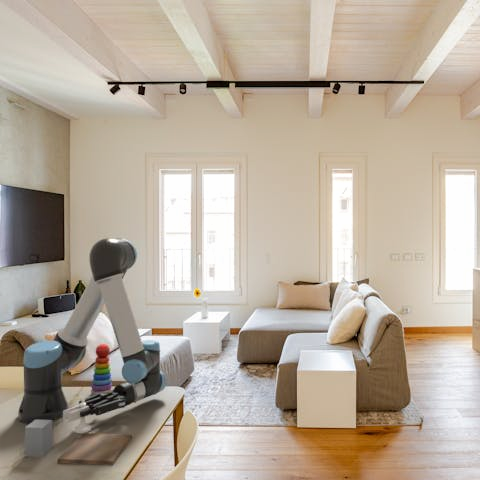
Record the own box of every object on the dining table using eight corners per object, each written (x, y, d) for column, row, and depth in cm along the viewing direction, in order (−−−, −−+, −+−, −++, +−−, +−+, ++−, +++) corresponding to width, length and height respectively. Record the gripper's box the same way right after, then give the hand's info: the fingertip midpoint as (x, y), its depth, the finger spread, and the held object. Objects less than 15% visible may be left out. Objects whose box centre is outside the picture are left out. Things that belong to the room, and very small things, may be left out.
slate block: (25, 456, 114) (24, 427, 114) (35, 447, 119) (35, 419, 119) (42, 457, 114) (42, 427, 114) (52, 448, 119) (52, 420, 119)
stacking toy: (106, 397, 157) (105, 347, 157) (86, 396, 159) (86, 346, 159) (116, 390, 165) (116, 342, 165) (97, 389, 166) (97, 341, 166)
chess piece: (85, 424, 134) (85, 393, 134) (94, 429, 131) (94, 396, 131) (71, 430, 130) (71, 397, 130) (79, 435, 127) (79, 401, 127)
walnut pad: (57, 462, 111) (57, 459, 111) (83, 436, 126) (83, 433, 126) (112, 464, 110) (112, 460, 110) (132, 437, 125) (132, 434, 125)
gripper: (143, 408, 141) (82, 435, 121) (114, 399, 149) (52, 423, 130) (143, 386, 141) (81, 409, 121) (114, 377, 149) (51, 398, 130)
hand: (66, 416), depth 126 cm, fingers closed on chess piece, 2 cm apart
